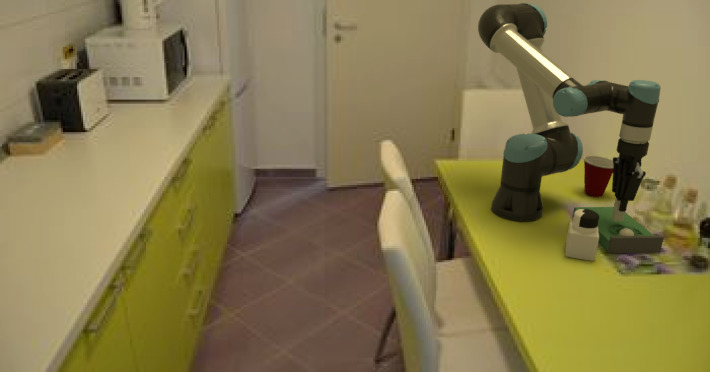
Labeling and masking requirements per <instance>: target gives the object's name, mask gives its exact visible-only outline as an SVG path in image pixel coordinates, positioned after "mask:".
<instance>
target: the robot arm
mask: <svg viewBox="0 0 710 372" xmlns="http://www.w3.org/2000/svg"><path fill="white" fill-rule="evenodd" d="M547 28H548V18H547V15H546V14H545V12H544V10H543V9H542V8H541V7H539V5H536V4H533V3H526V2H525V3H523V2H522V3H521V2H520V3H513V4H511V3H509V4H504V3H503V4H495V5H492V6H490V7H487V9H485V11H483V13H482V14H481V16H480V17H479V20H478V24H477V31H478V35H479V38H480V39H481V41H482V42H483V44H484V45H485V46H486V47H487V48H489V50H490V51H492V52H493V53H494V54H498V53H500V55H502V56H503V57H504V58H505V59H506V60H507V61H508V62H509V63H511V64H512V65H513V66H514V67H515V68H516V72H517V75H518V78H519V82H520V85H521V89H522V93H523V96H524V97H523V98H524V100H525V104H526V106H527V111H528V114H529V118H530V122H531V126H532V131H531V132H530V133H518V134H515V135H512V136H510V137H509V138H508V139H507V140H506V142H505V147H504V150H503V158H502V166H501V167H502V168H501V177H500V184H499V187H498V188H497V191H496V192H495V195H494V197H493V199H492V203H491V208H490V209H491V211H492V212H493V213H494V214H495V215H496V216H498V217H500V218H502V219H506V220H510V221H514V222H532V221H537V220H539V219H541V218H542V216H543V211H544V206H543V205H544V204H543V200H542V195H541V186H542V185H541V184H542V180H543V179H542V178H543V177H545V176H549V175H555V174H558V173H560V174H561V173H565V172H567V171H570V170H572V169H574V168H575V167H577V166H578V164H580V162H581V160H582V158H583V154H584V153H583V152H584V147H583V143H582V140H581V139H580V138H581V137H579V136H577V134H576V133H574V132H571V130H570V126H569V124H568V123H566V122H564V121H563V120H562V118H561V117H564V118H565V117H566V118H568V117H572V118H573V117H578V116H584V115H588V114H593V113H599V112H605V111H606V112H612V113H616V114H620V115H622V120H621V125H620V131H619V134H618V136H619V138H618V140H617V147H616V153H618V156H617V157H615V156H614V157H612V160H613V174H612V180H611V181H612V183H611V191H612V193H614V197H615V198H614V199H615V200H614V204H613V205H614V206H613V207H614V210H613V215H612V220H613V221H624V216H625V212H626V211H627V207H628V204H629V202H634V201H635V199H636V196H637V193H638V191H639V189H640V185H641V183H642V181H643V179H644V178H645V176H646V175H647V173H646V171H643V170H642V168H641V167H642V159H643V158H644V157H646V156H647V155H648V151H649V146H650V143H649V141H650V140H651V136H652V132H653V126H654V122H655V117H656V115H657V114H656V113H657V109H658V105H659V103H660V94H661V89H662V88H661V85H660V84H659V83H658V82H656V81H652V80H645V79H634V80H631V81H630V82H629V85H624V84H621V83H616V82H612V81H608V80H600V79H594V80H591V81H590V82H589V83H587V85H586V84H585V85H584V84H581V83H580V82H579V81H577V80H576V79H575V78H574V77H573V76H571V75H570V74H568V73H567V72H566V71H565V70H564V69H562V67H560V66H559V65H558V64H557V63H555V62H554V61H553V60H552V59H550V57H548V55H546V54H545V53H544V52H543V50H542V45H543V44H544V42H545V38H544V36H545V34H546V31H547ZM626 213H627V212H626Z"/></svg>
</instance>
